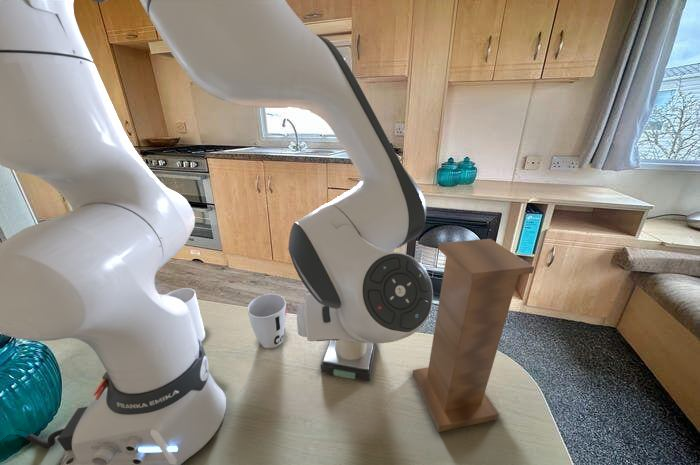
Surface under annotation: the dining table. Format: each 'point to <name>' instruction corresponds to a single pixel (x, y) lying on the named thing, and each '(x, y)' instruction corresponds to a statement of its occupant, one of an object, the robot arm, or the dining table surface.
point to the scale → (348, 363)
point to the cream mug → (350, 349)
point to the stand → (468, 331)
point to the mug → (191, 308)
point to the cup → (268, 319)
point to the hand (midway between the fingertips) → (352, 318)
